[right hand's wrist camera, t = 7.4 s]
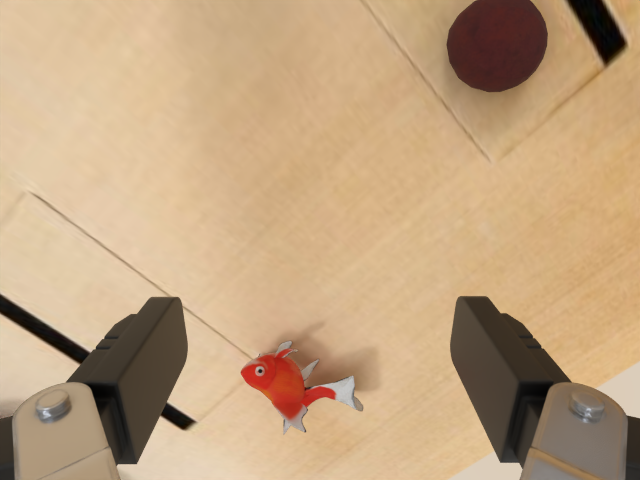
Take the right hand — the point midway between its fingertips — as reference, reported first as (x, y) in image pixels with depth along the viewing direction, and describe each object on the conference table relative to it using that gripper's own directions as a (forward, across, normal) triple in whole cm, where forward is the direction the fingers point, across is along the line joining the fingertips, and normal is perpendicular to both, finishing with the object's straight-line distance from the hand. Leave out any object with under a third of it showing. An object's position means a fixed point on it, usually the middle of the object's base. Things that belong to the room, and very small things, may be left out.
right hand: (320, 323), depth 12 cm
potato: (+30, +14, +10) cm, 35 cm away
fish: (+30, -1, -26) cm, 40 cm away
